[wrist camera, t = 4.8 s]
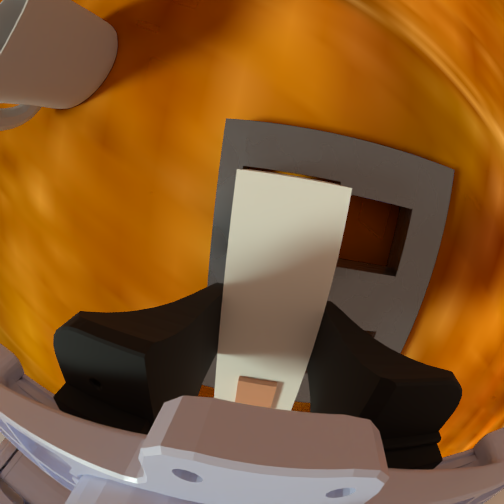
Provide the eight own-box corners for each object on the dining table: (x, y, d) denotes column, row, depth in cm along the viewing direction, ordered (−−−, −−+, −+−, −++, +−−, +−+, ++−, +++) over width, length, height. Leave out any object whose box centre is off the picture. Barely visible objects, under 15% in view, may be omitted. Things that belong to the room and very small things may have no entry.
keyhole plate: (367, 390, 17) (372, 405, 15) (208, 370, 18) (202, 384, 16) (439, 169, 12) (454, 169, 11) (232, 124, 13) (226, 118, 12)
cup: (138, 50, 12) (43, -4, 4) (51, 158, 15) (-46, 169, 6) (99, 11, 11) (25, -29, 3) (25, 105, 14) (-53, 102, 5)
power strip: (288, 362, 16) (285, 428, 11) (231, 353, 16) (211, 415, 11) (328, 181, 13) (354, 189, 8) (255, 169, 13) (235, 168, 8)
